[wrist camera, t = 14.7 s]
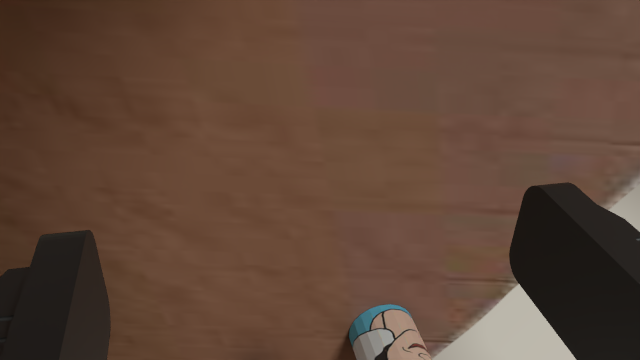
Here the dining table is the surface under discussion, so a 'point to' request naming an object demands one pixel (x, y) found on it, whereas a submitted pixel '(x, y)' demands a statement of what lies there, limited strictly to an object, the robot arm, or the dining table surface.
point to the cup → (387, 335)
